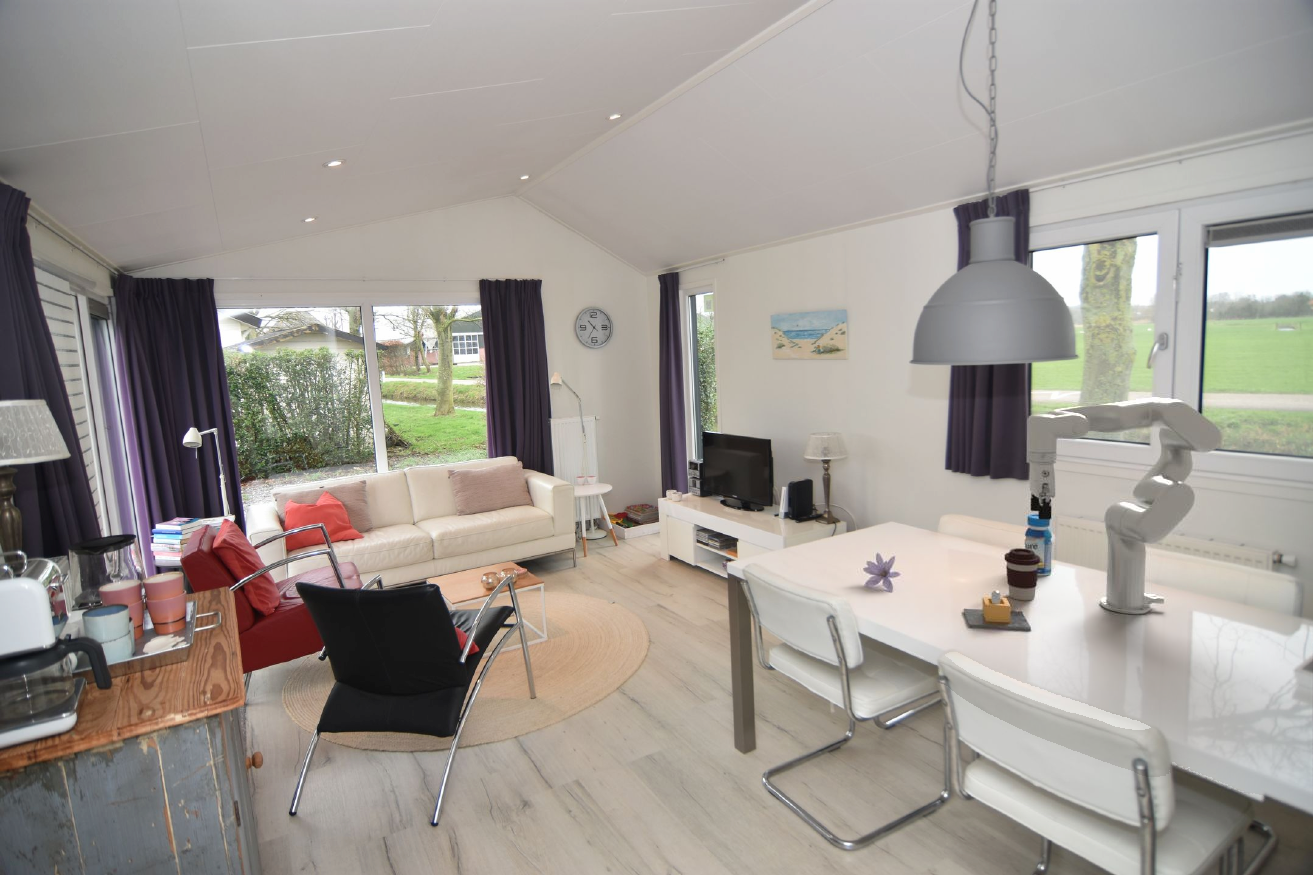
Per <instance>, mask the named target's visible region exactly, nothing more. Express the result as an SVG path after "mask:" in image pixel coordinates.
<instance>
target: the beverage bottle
mask: <svg viewBox="0 0 1313 875" xmlns="http://www.w3.org/2000/svg"><path fill="white" fill-rule="evenodd" d="M1050 522H1051V519H1050V520H1047V519H1039V518H1038V513H1033V514H1029V515H1028V516H1027V526H1028V528H1027V529H1026V531H1025V532H1024V533H1025V534H1024V536H1025V539H1024V549H1029V550H1032V551H1034V553H1035V554H1036V555H1038V556H1039V557H1040V563H1039V564H1038V566H1037V567H1038V575H1037V576H1038V577H1039V576H1040V577H1042V576H1043V577H1044V576H1045V577H1046V576H1049V575H1051V573H1052V556H1053V555H1052V552H1053V551H1052V550H1053V549H1052V548H1053V541H1052V538H1053V535H1052V532H1051V531H1050V528H1049V527H1050V525H1051V523H1050Z"/></svg>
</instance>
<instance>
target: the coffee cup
mask: <svg viewBox="0 0 1313 875" xmlns="http://www.w3.org/2000/svg"><path fill="white" fill-rule="evenodd" d="M1004 561H1005V562H1006V567H1005V568H1006V579H1007V580H1006V583H1007V585H1008V595H1009V597H1010V598H1011V599H1014V600H1017V601H1023V602H1024V601H1026V602H1027V601H1032V600H1034V599H1035V597H1036V587H1037V583H1038V576H1039V575H1038V567H1037V566H1038V564H1039V563H1040V557H1039V556H1038V555H1036V554H1035V553H1034V551H1032V550H1029V549H1025V548H1017V547H1016V548H1012V549H1010V551H1009V552H1006V553H1004Z"/></svg>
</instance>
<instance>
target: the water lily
mask: <svg viewBox="0 0 1313 875" xmlns="http://www.w3.org/2000/svg"><path fill="white" fill-rule="evenodd" d="M895 560H896V556H895V555H894V556H892V557H890V558H889V560H888V561H887V560H885V561H884V559H883V557H882V555H881V554H880V553H879V552H877V553H876V554H875V561H876V562H873V561H870V560H869V561H868V560H867V561H866V566H867V567H864V568H863V570H862V571H864V572H865V573H866V574H869V575H870V576H871V577H869V578H868V580H866V582H865V583H864V585H863V587H866V586H867V587H869V588H873V587H875V586H878V584H879V583H881V581H882V586H883V587H884V588H885V589H886V590H887V591H888V592H889V593H893V592H894V586H893V583H892V580H891V578H892V579H894V578H897V577H900V576H901V573H900V572H899V571H891V569H892V568H893V566H894V564H895Z"/></svg>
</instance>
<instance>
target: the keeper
mask: <svg viewBox="0 0 1313 875" xmlns="http://www.w3.org/2000/svg"><path fill="white" fill-rule="evenodd" d="M1001 596H1002V594H1001V592H1000V591H999V590H993V591H992V592H991V596H990V597H991V604H1001V598H1002V597H1001ZM963 614H964V616H965V619H966V623H967V625H968V628H969V629H985V630H986V629H989V630H990V629H991V630H1005V631H1007V630H1008V631H1009V630H1010V631H1011V630H1012V631H1027V632H1028V631H1029V632H1031V631H1032V627H1031V625H1030V624H1029V621H1028V620H1027V618H1026V616H1025V614H1024V612H1023V611H1022V610H1010V622H989V621H986V620H985V618H984V615H983V613H982V609H978V608H977V609H976V608H963Z"/></svg>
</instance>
